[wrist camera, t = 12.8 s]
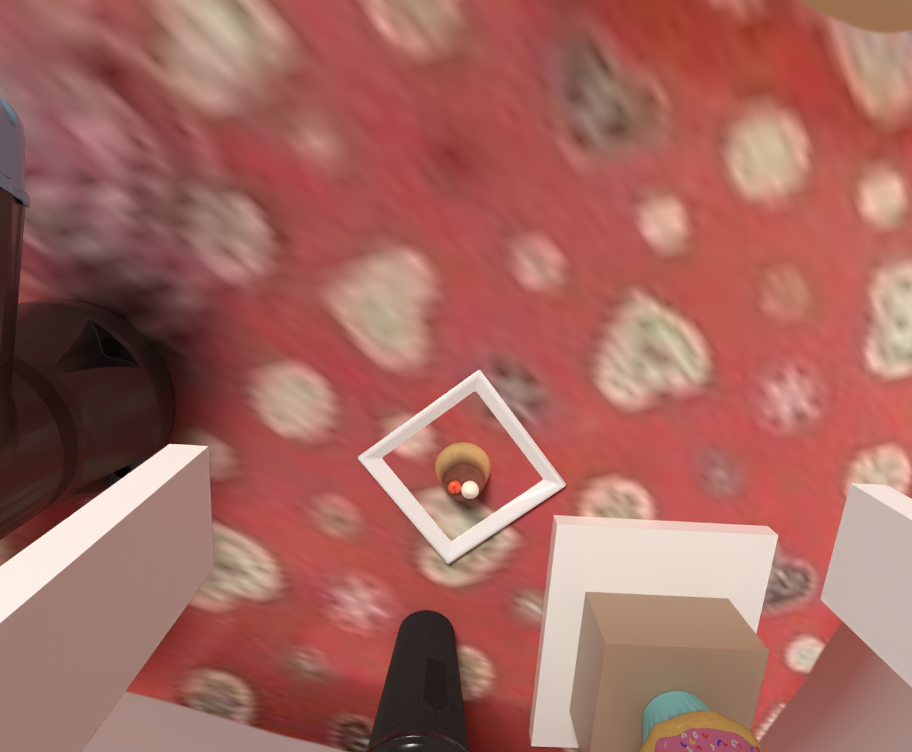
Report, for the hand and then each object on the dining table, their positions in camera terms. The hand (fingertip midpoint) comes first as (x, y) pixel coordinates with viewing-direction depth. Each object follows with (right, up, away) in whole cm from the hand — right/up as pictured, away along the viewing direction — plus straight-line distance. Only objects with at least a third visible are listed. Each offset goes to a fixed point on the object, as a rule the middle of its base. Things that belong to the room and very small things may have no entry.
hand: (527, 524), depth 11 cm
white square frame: (-1, -4, +33) cm, 34 cm away
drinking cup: (-4, -19, +37) cm, 42 cm away
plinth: (+15, -20, +37) cm, 44 cm away
